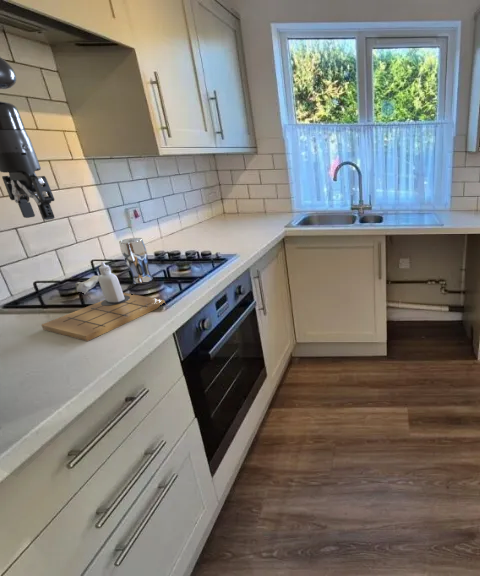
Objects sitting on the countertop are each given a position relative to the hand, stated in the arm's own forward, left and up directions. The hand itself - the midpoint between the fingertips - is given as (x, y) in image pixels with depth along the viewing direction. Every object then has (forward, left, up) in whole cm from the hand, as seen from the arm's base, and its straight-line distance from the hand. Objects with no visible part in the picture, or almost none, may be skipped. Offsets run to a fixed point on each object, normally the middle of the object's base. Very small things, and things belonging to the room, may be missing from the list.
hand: (39, 218), depth 92 cm
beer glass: (+24, +5, -28) cm, 37 cm away
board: (+2, -10, -28) cm, 30 cm away
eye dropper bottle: (+8, -5, -26) cm, 28 cm away
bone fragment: (+14, +17, -28) cm, 35 cm away
